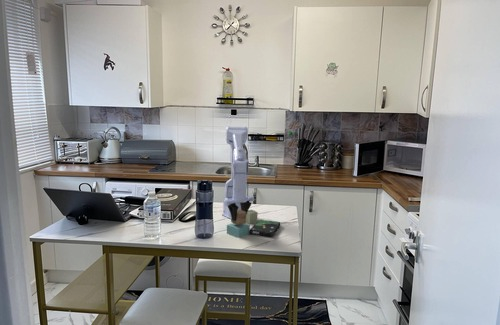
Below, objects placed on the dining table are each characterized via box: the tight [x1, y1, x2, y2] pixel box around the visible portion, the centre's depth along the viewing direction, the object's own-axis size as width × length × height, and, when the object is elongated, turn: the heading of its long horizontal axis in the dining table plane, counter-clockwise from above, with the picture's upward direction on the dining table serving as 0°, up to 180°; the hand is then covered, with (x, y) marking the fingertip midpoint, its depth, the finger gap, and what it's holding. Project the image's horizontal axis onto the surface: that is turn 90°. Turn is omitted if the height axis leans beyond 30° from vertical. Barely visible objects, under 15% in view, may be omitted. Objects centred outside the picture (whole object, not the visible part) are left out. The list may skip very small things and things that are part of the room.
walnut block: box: [230, 209, 247, 225], centre depth 164 cm, size 4×4×5 cm
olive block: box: [246, 209, 259, 225], centre depth 180 cm, size 4×4×5 cm
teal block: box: [226, 222, 251, 239], centre depth 165 cm, size 7×7×4 cm
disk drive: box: [249, 219, 281, 239], centre depth 169 cm, size 10×3×15 cm
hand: (238, 219), depth 164 cm, fingers closed on walnut block, 4 cm apart
